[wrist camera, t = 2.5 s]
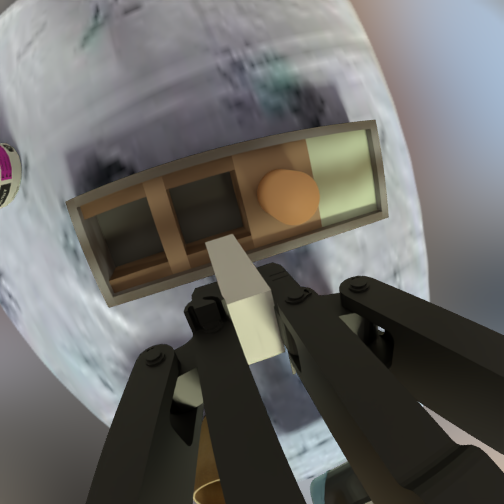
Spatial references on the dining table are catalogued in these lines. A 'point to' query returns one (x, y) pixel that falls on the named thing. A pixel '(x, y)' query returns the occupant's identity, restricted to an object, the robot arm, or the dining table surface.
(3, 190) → the supplement can
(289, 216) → the brown egg
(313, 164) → the track
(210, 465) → the plant pot
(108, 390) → the dining table surface
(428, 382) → the robot arm
